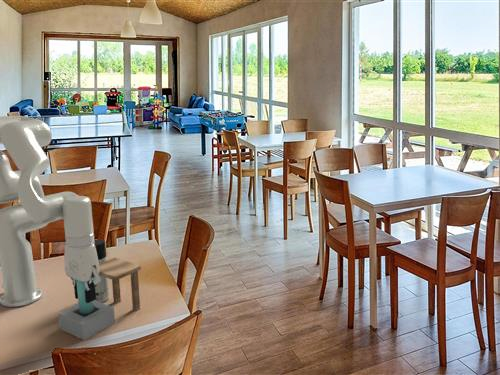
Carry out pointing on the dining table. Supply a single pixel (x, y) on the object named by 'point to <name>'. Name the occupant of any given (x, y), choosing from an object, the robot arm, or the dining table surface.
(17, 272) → the robot arm
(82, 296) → the peg
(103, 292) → the spray can
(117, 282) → the board on two legs
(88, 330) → the socket block
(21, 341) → the dining table surface
